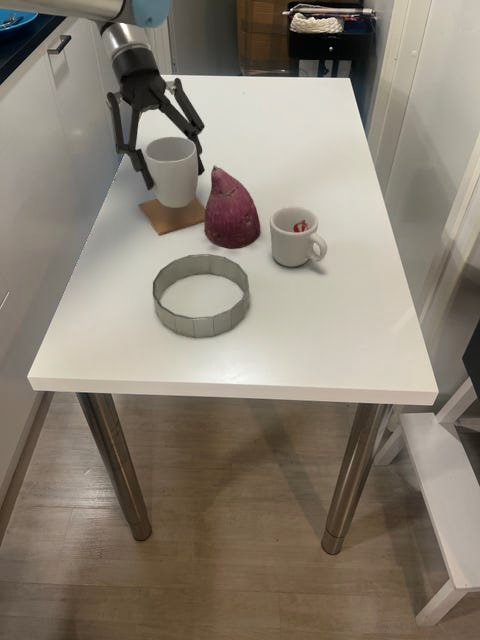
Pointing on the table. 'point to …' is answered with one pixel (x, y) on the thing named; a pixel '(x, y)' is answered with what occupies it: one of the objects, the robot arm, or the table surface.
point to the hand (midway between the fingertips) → (176, 180)
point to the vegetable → (230, 212)
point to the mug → (173, 170)
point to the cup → (295, 236)
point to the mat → (172, 215)
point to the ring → (201, 266)
